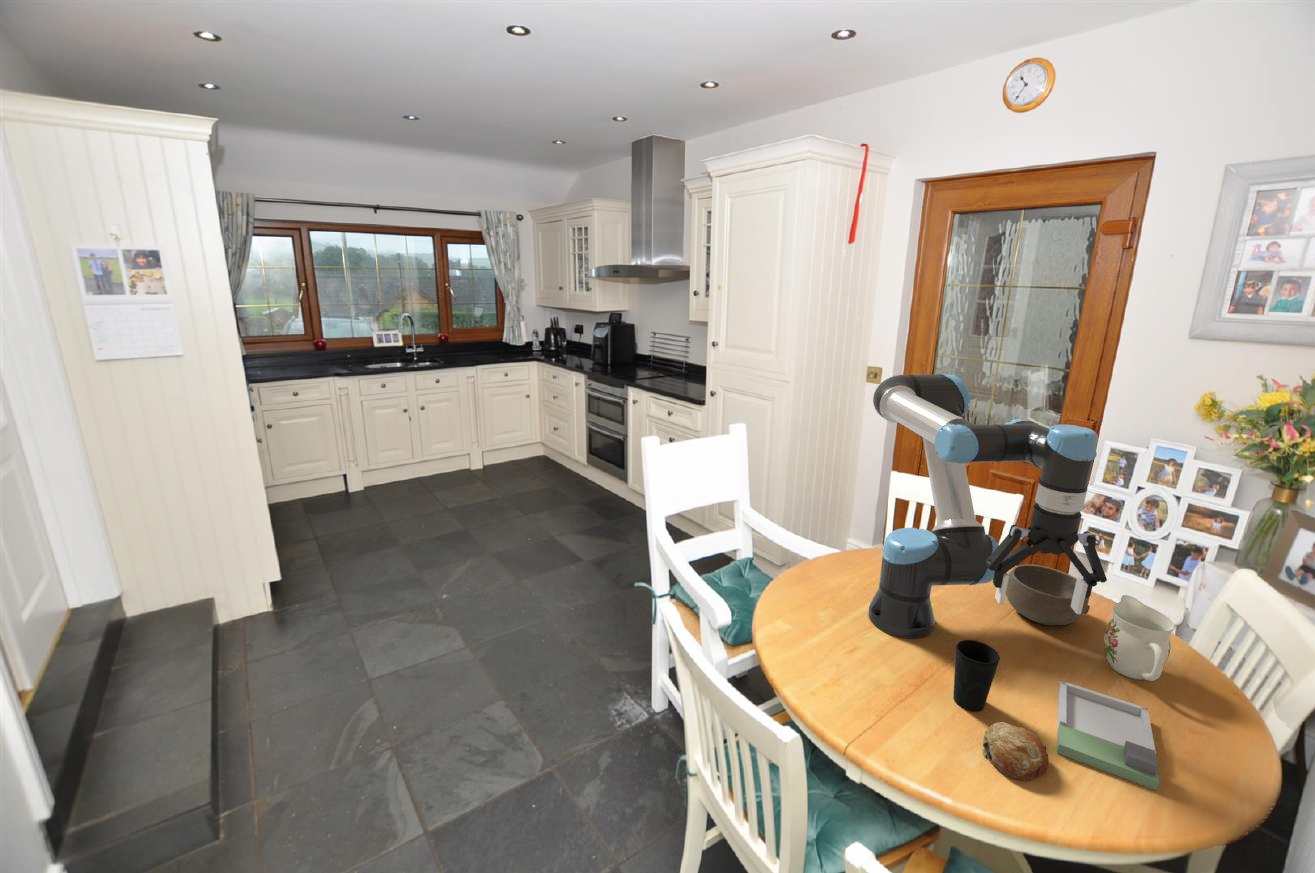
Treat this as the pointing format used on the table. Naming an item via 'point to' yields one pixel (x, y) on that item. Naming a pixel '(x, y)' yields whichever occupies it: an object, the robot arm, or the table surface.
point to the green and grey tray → (1106, 734)
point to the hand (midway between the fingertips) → (1036, 605)
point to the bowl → (1043, 594)
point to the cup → (974, 673)
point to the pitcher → (1137, 639)
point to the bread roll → (1015, 751)
